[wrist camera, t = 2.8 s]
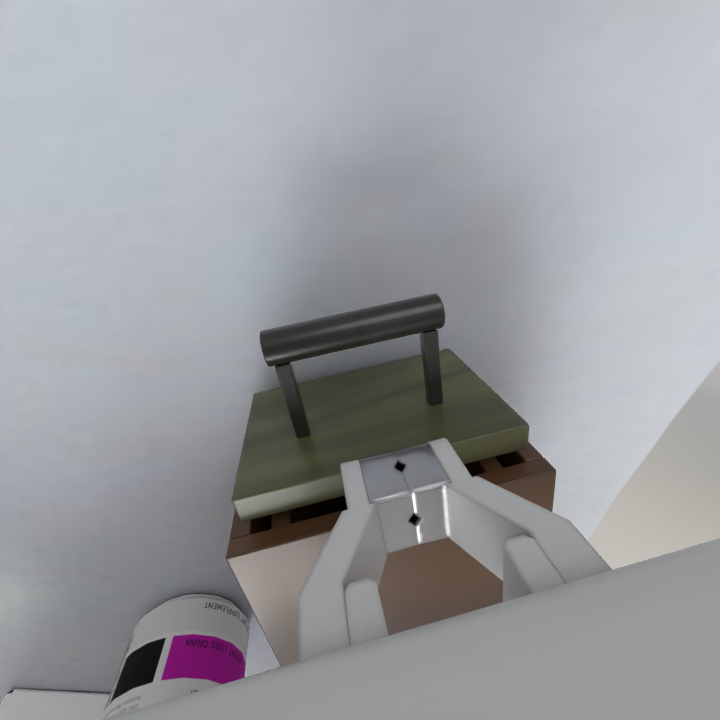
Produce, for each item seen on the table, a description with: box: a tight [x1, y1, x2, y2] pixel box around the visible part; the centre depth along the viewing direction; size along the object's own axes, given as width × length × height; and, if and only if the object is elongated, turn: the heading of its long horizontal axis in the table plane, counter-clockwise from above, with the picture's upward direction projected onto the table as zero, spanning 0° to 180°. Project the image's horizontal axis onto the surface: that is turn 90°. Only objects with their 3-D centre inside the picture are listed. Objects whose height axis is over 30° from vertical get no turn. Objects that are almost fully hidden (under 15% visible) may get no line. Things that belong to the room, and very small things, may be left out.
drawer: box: [232, 293, 529, 529], centre depth 18 cm, size 18×11×8 cm, turn 10°
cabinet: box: [226, 442, 556, 667], centre depth 20 cm, size 15×13×10 cm
